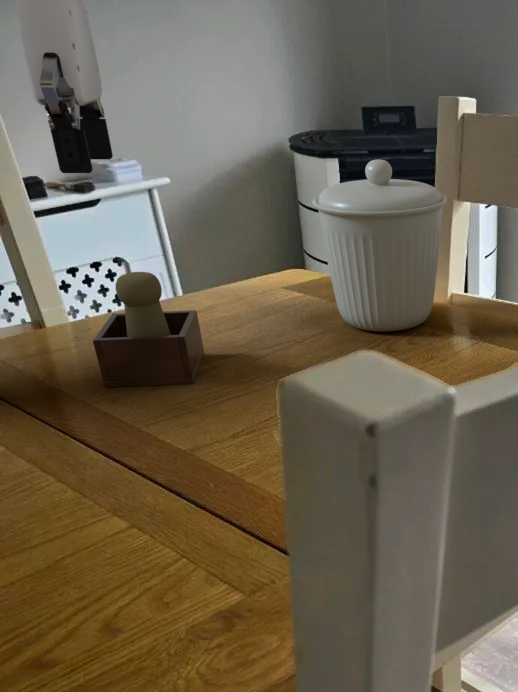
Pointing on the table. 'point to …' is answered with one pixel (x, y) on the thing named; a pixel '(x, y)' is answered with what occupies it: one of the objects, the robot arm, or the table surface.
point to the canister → (382, 248)
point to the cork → (142, 304)
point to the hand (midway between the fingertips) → (88, 165)
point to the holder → (150, 352)
